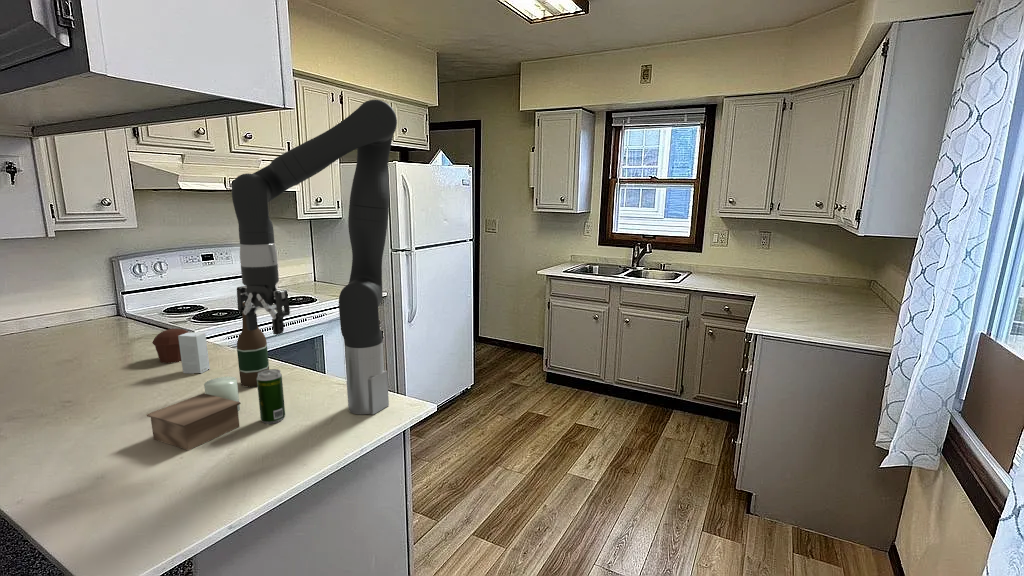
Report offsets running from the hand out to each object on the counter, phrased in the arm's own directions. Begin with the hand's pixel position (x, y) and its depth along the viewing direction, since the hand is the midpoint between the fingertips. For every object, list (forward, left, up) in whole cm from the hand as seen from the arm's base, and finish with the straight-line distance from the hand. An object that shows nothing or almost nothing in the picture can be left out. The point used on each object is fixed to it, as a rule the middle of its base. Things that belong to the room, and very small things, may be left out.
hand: (265, 331), depth 114 cm
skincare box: (+50, -14, -22) cm, 57 cm away
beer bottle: (+25, -15, -22) cm, 37 cm away
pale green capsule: (+15, +2, -22) cm, 27 cm away
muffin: (+68, -19, -22) cm, 74 cm away
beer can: (0, 0, -22) cm, 22 cm away
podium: (+10, +12, -22) cm, 27 cm away
